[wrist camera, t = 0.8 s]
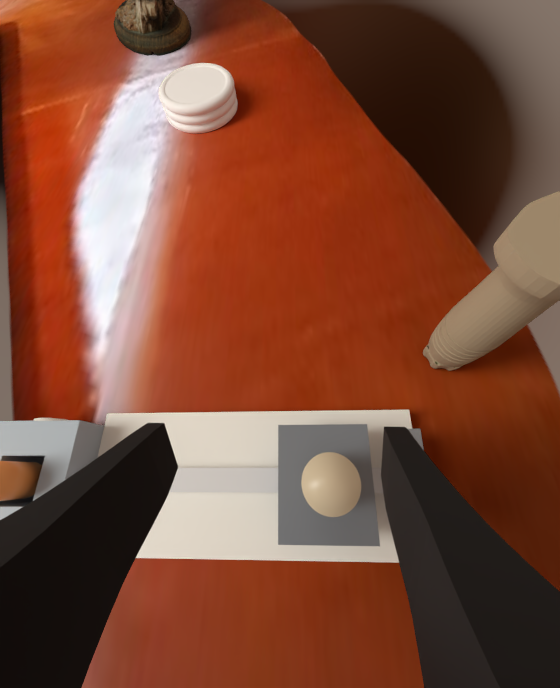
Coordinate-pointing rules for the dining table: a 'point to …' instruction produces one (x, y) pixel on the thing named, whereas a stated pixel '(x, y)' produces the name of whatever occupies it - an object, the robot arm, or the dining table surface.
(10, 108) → the dining table surface
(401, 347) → the dining table surface
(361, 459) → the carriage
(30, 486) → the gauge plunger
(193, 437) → the rail track
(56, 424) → the grey block with socket
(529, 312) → the handle
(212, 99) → the coaster
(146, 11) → the owl figurine
